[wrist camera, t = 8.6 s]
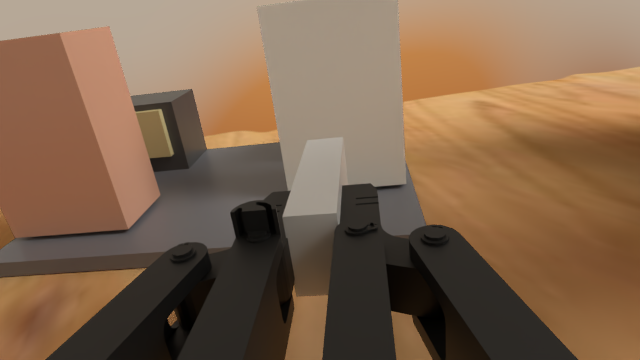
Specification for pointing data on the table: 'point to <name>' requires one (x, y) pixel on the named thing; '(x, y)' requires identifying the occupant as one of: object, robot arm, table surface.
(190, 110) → the key console
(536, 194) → the table surface
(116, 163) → the terracotta key
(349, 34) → the off-white key
